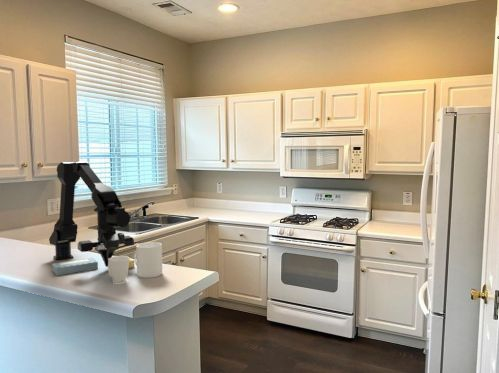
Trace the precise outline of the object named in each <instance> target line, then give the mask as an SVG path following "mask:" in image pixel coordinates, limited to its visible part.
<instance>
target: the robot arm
mask: <svg viewBox="0 0 499 373" xmlns="http://www.w3.org/2000/svg"><path fill="white" fill-rule="evenodd" d="M90 166H91V165H90V163H89V162H88V161H85V160H84V161H70V162H69V161H68V162H65V161H64V162H63V161H60V162H59V164H57V166H56V174H57V179H58V180H59V183H60V185H61V188H60V201H59V203H60V204H59V218H58V219H57V221H56V223H55V224H54V226H53V231H52V233H51V235H50V236H49V238H48V241H49V245H51V246H52V245H53V246H54V247H55V249H54V250H55V255H53V258H54V259H55V260H56V261H59V260H60V261H61V260H66V259H73V258H74V256H73V254H72V249H71V245H72V244H71V243H75V242H76V241H77V236H78V228H79V227H78V224H76V222H75V221H74V207H75V194H76V193H75V192H76V191H75V190H76V184H78V182H79V180H80V178H81V180H82V181H83V183H84V184H85V185H86V186H87V188H88V189H89V191H90V192H91V195H90V196H91V199H92V202H93V203H94V205H95V206H96V207H95V208H94V210H93V212H95V213H97V214H96V216H97V218H96V219H97V228H96V229H97V241H94V242H93V241H91V240H90V239H87V240H81V241H78V243H77V250H78V251H79V252H81V253H83V252H91V251H92V250H95V251H97V252H98V253H99V254H100V256H101V258H102V261H103V262H104V265H105V268H108V258H111V257H113V255H114V254H115V252H116V250H119V247H120V245H122V244H123V245H124V246H125V247H129V246H130V247H131V246H135V239H134V238H133V237H132V236H130V235H125V233H124V232H117V231H116V227H117V228H118V227H119V228H125V227H127V226H128V225H129V224H130V222H131V216H130V214H129V213H128V212H127V211H126V207H123V205H122V202H121V201H120V199H119V197H118V195H117V192H116V191H115V190H114V189H113V188H112V187H110V186H109V185H106V184H105V183H103V181H101V179H100V178H99V176H98V175H97V174H96V173H95V172H94V171H93V169H92V168H91V167H90Z"/></svg>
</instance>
